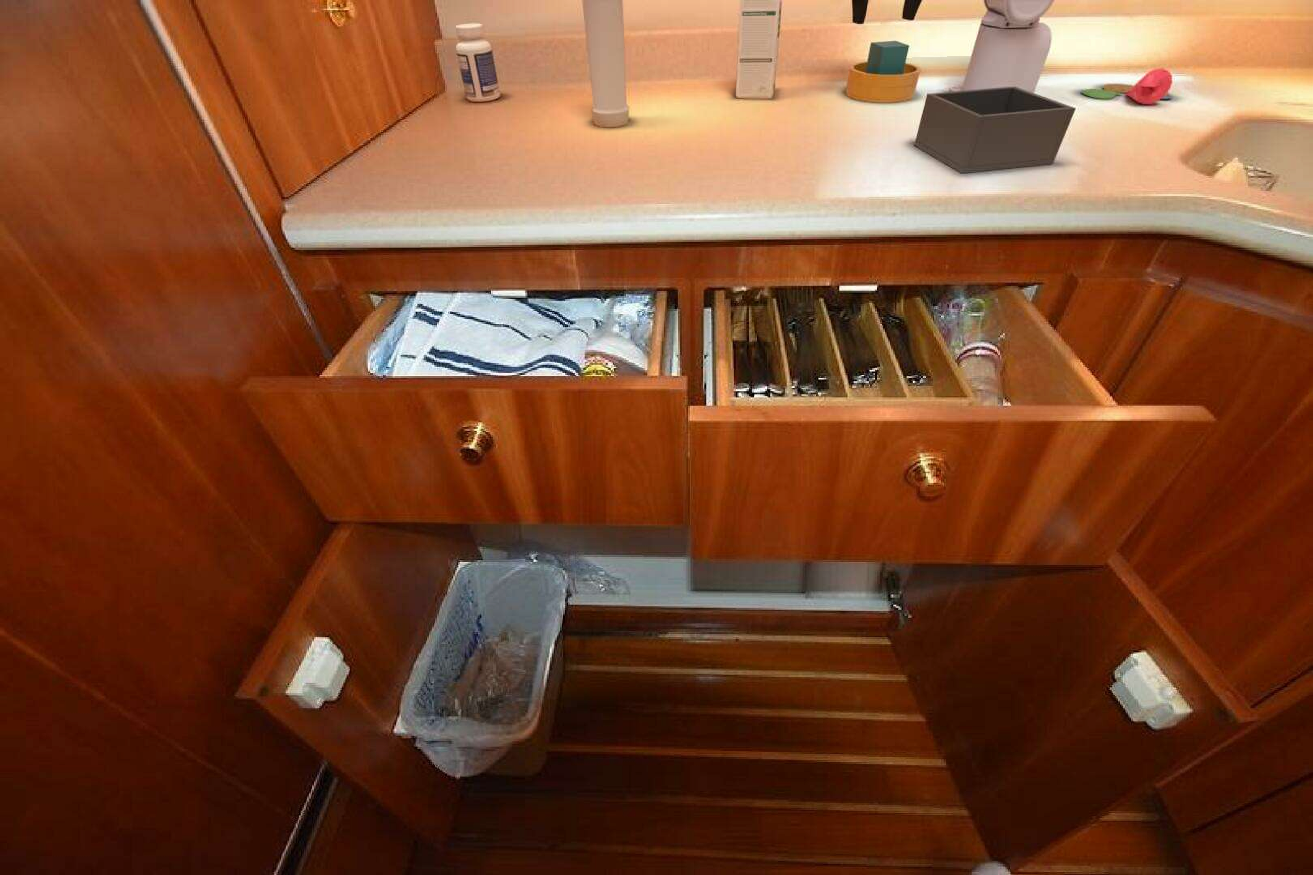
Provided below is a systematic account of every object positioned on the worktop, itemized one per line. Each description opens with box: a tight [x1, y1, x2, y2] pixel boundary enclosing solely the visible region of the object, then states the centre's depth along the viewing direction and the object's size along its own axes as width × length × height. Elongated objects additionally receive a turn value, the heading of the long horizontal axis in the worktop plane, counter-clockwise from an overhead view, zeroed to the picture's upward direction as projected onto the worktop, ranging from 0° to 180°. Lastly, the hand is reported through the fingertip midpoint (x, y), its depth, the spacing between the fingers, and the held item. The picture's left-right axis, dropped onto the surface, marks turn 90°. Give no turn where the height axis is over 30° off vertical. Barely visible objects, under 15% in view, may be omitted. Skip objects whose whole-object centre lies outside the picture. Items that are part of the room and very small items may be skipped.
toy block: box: [865, 40, 910, 75], centre depth 87 cm, size 4×4×6 cm
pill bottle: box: [455, 22, 501, 103], centre depth 91 cm, size 5×5×10 cm
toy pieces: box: [1080, 67, 1173, 105], centre depth 84 cm, size 12×11×4 cm
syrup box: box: [735, 0, 783, 100], centre depth 87 cm, size 6×6×14 cm
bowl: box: [845, 61, 922, 104], centre depth 88 cm, size 10×10×4 cm
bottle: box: [581, 0, 630, 128], centre depth 74 cm, size 5×5×25 cm
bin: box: [913, 86, 1077, 174], centre depth 66 cm, size 11×10×6 cm
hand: (882, 21), depth 82 cm, fingers open, 7 cm apart
